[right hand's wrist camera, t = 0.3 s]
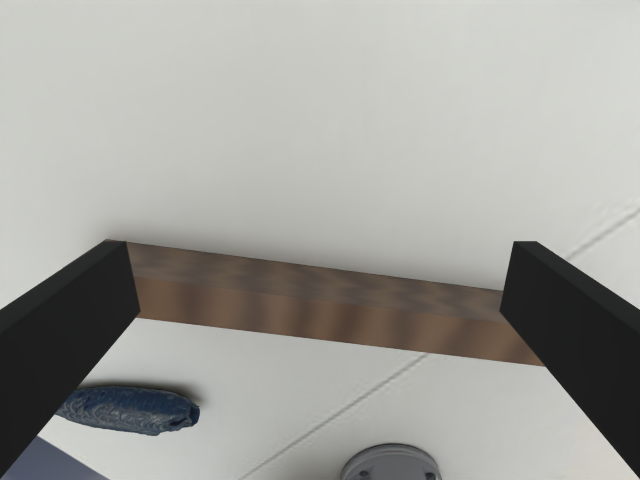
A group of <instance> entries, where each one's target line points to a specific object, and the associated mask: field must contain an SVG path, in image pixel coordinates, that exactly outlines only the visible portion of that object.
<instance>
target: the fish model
mask: <svg viewBox="0 0 640 480" xmlns="http://www.w3.org/2000/svg"><path fill="white" fill-rule="evenodd" d="M55 415H59V416H61V417H63V418H65V419H67V420H69V421H73V422H76V423H79V424H82V425H87V426H90V427H95V428H102V429H110V430H116V431H124V432H135V433H139V434H146V435H150V436H157V435H159V434H160V433H161V432H165V431H170V432H171V431H178V430H180V429H181V428H184V427H192V426H193V425H194V424H196V423H197V422H198V419H199V416H200V409H199V406H197V405H196V404H194V403H192V402H191V401H190V400H189V399H187V398H185V397H182V396H179V395H178V394H176V393H173V392H169V391H163V390H155V389H145V388H139V387H119V386H105V387H95V388H84V389H79V390H74V392H73V393H72V394H71V395H70V396H69V398H68V399H67V400H66V401H65V402H64V403H63V405H62V406H61V407H60V408H59V409H58V411H57V412H56V413H55Z"/></svg>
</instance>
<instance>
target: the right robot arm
mask: <svg viewBox="0 0 640 480" xmlns="http://www.w3.org/2000/svg"><path fill="white" fill-rule="evenodd" d="M140 312H141V310H140V305H139V300H138V295H137V291H136V286H135V281H134V276H133V271H132V267H131V262H130V257H129V252H128V248H127V243H126V241H103V242H102V243H100V244H99V245H97V246H96V247H94V248H93V249H91V250H90V251H88V252H87V253H85V254H84V255H82V256H81V257H79V258H78V259H76V260H75V261H73V262H72V263H70V264H69V265H67V266H66V267H64V268H63V269H61V270H60V271H58V272H57V273H55V274H54V275H52V276H51V277H49V278H47V279H46V280H44V281H43V282H41V283H40V284H38V285H37V286H35V287H34V288H32V289H31V290H29V291H28V292H26V293H25V294H23V295H22V296H20V297H19V298H17V299H16V300H14V301H13V302H11V303H10V304H8V305H7V306H5V307H4V308H2V309H1V310H0V479H1V477H2V476H3V475H4V474H5V473H6V471H7V470H8V469H9V468H10V467H11V465H12V464H13V463H14V462H15V461H16V459H17V458H18V457H19V456H20V455H21V453H22V452H23V451H24V450H25V449H26V448H27V446H28V445H29V444H30V443H31V442H32V440H33V439H34V438H35V437H36V436H37V434H38V433H39V432H40V431H41V430H42V429H43V427H44V426H45V425H46V424H47V423H48V421H49V420H50V419H51V418H52V417H53V415H54V414H55V413H56V412H57V411H58V409H59V408H60V407H61V406H62V405H63V403H64V402H65V401H66V400H67V399H68V398H69V396H70V395H71V394H72V393H73V392H74V390H75V389H76V388H77V387H78V386H79V384H80V383H81V382H82V381H83V380H84V378H85V377H86V376H87V375H88V374H89V372H90V371H91V370H92V369H93V368H94V367H95V365H96V364H97V363H98V362H99V361H100V359H101V358H102V357H103V356H104V355H105V353H106V352H107V351H108V350H109V349H110V347H111V346H112V345H113V344H114V343H115V342H116V340H117V339H118V338H119V337H120V336H121V334H122V333H123V332H124V331H125V330H126V328H127V327H128V326H129V325H130V324H131V322H132V321H133V320H134V319H135V318H136V316H137V315H138V314H139V313H140ZM499 312H500V313H501V314H502V315H503V316H504V318H505V319H506V320H507V321H508V322H509V324H510V325H511V326H512V327H513V328H514V330H515V331H516V332H517V333H518V334H519V336H520V337H521V338H522V339H523V340H524V342H525V343H526V344H527V345H528V346H529V347H530V349H531V350H532V351H533V352H534V353H535V355H536V356H537V357H538V358H539V359H540V361H541V362H542V363H543V364H544V365H545V367H546V368H547V369H548V370H549V371H550V373H551V374H552V375H553V376H554V377H555V378H556V380H557V381H558V382H559V383H560V384H561V386H562V387H563V388H564V389H565V390H566V392H567V393H568V394H569V395H570V396H571V398H572V399H573V400H574V401H575V402H576V403H577V405H578V406H579V407H580V408H581V409H582V411H583V412H584V413H585V414H586V415H587V417H588V418H589V419H590V420H591V421H592V423H593V424H594V425H595V426H596V427H597V429H598V430H599V431H600V432H601V433H602V434H603V436H604V437H605V438H606V439H607V440H608V442H609V443H610V444H611V445H612V446H613V448H614V449H615V450H616V451H617V452H618V454H619V455H620V456H621V457H622V458H623V459H624V461H625V462H626V463H627V464H628V465H629V467H630V468H631V469H632V470H633V471H634V473H635V474H636V475H637V476H638V477H639V479H640V310H639V309H638V308H636V307H635V306H633V305H632V304H630V303H629V302H627V301H626V300H624V299H623V298H621V297H620V296H618V295H617V294H615V293H614V292H612V291H611V290H609V289H608V288H606V287H605V286H603V285H602V284H600V283H599V282H597V281H596V280H594V279H593V278H591V277H589V276H588V275H586V274H585V273H583V272H582V271H580V270H579V269H577V268H576V267H574V266H573V265H571V264H570V263H568V262H567V261H565V260H564V259H562V258H561V257H559V256H558V255H556V254H555V253H553V252H552V251H550V250H549V249H547V248H546V247H544V246H543V245H541V244H540V243H538V242H537V241H514V243H513V248H512V252H511V257H510V262H509V267H508V271H507V276H506V281H505V286H504V291H503V295H502V300H501V305H500V310H499ZM341 480H442V478H441V475H440V472H439V469H438V466H437V464H436V463H435V461H434V460H433V459H432V458H431V457H430V456H429V455H428V454H426V453H425V452H423V451H421V450H419V449H416V448H414V447H410V446H406V445H396V444H392V445H382V446H377V447H373V448H370V449H367V450H365V451H363V452H361V453H359V454H358V455H356V456H355V457H353V458H352V459H351V460H350V461H349V462H348V463H347V465H346V466H345V468H344V469H343V472H342V474H341Z"/></svg>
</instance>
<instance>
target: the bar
mask: <svg viewBox="0 0 640 480" xmlns="http://www.w3.org/2000/svg"><path fill="white" fill-rule="evenodd" d="M104 241H115V240H107V239H106V240H104ZM101 243H102V242H101ZM126 243H127V248H128V252H129V257H130V262H131V267H132V271H133V276H134V281H135V286H136V291H137V295H138V300H139V305H140V310H141V312H140V313H139V314H138V315H137V316H136V318H144V319H153V320H161V321H169V322H178V323H186V324H194V325H203V326H211V327H219V328H228V329H236V330H244V331H253V332H261V333H269V334H278V335H286V336H294V337H303V338H311V339H319V340H328V341H336V342H344V343H353V344H361V345H369V346H378V347H386V348H394V349H403V350H411V351H419V352H428V353H436V354H444V355H453V356H461V357H469V358H478V359H486V360H494V361H503V362H511V363H519V364H528V365H536V366H544V367H545V365H544V364H543V363H542V362H541V361H540V359H539V358H538V357H537V356H536V355H535V353H534V352H533V351H532V350H531V349H530V347H529V346H528V345H527V344H526V343H525V342H524V340H523V339H522V338H521V337H520V336H519V334H518V333H517V332H516V331H515V330H514V328H513V327H512V326H511V325H510V324H509V322H508V321H507V320H506V319H505V318H504V316H503V315H502V314H501V313H500V312H499V310H500V305H501V300H502V295H503V291H498V290H490V289H482V288H475V287H467V286H459V285H452V284H444V283H436V282H429V281H421V280H413V279H406V278H398V277H390V276H383V275H375V274H367V273H360V272H352V271H344V270H337V269H329V268H321V267H314V266H306V265H298V264H291V263H283V262H275V261H268V260H260V259H252V258H245V257H237V256H229V255H222V254H214V253H206V252H199V251H191V250H183V249H176V248H168V247H161V246H153V245H145V244H138V243H130V242H126ZM98 245H99V244H98ZM95 247H96V246H95ZM92 249H93V248H92ZM89 251H90V250H89ZM86 253H87V252H86ZM83 255H84V254H83ZM80 257H81V256H80ZM77 259H78V258H77ZM74 261H75V260H74ZM71 263H72V262H71ZM68 265H69V264H68ZM65 267H66V266H65ZM63 268H64V267H63Z"/></svg>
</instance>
